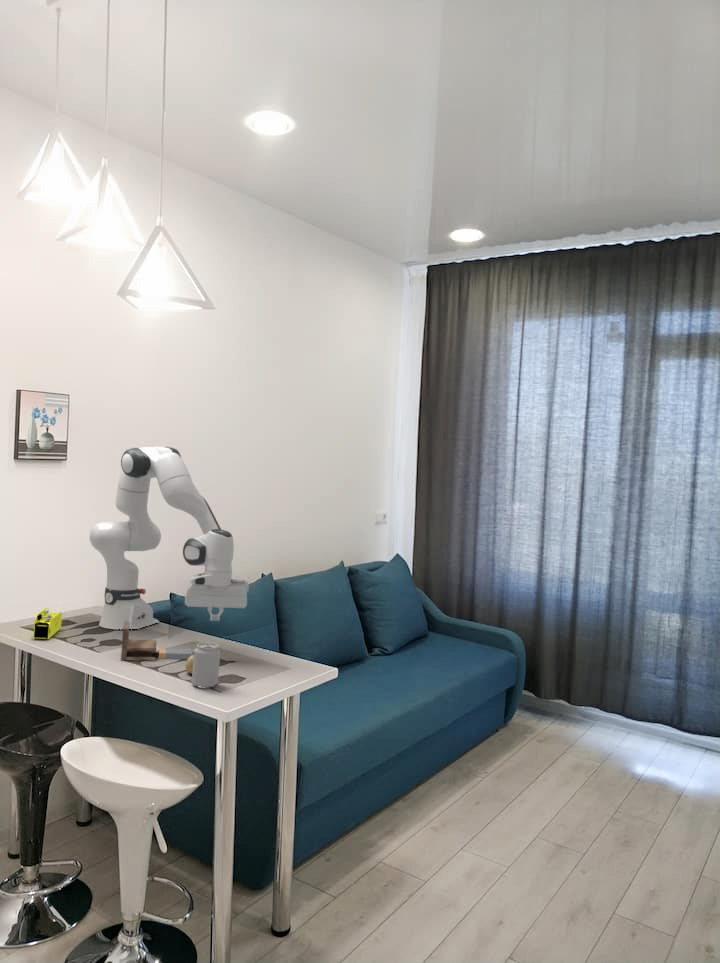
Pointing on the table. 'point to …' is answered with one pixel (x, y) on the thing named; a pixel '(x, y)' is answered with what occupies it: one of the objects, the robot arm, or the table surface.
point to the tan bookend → (136, 645)
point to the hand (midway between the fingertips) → (214, 620)
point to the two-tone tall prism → (175, 653)
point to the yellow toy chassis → (46, 624)
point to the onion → (190, 663)
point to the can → (206, 665)
